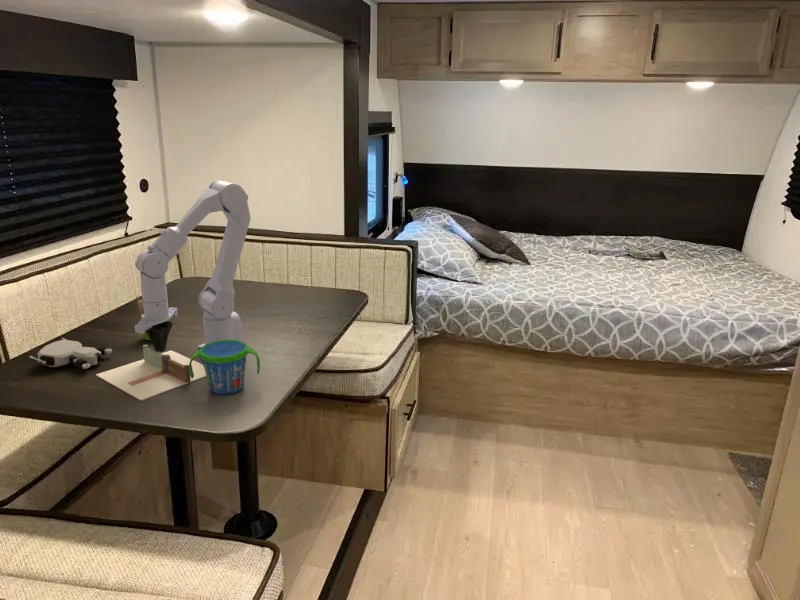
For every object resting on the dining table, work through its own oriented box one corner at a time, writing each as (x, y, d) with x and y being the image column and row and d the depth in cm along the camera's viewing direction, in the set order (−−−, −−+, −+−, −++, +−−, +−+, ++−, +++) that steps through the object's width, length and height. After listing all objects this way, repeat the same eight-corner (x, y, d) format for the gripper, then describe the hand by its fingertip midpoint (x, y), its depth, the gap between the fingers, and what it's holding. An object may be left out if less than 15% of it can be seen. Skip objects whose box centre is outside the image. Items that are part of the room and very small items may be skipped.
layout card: (171, 351, 162) (171, 349, 161) (217, 372, 150) (217, 370, 150) (96, 375, 146) (95, 374, 146) (141, 401, 135) (140, 399, 135)
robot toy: (116, 359, 158) (61, 351, 160) (115, 343, 157) (60, 335, 158) (87, 379, 147) (28, 370, 148) (86, 362, 145) (26, 353, 147)
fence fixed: (168, 368, 150) (167, 353, 149) (193, 380, 144) (191, 365, 143) (161, 371, 149) (159, 356, 148) (185, 383, 143) (184, 367, 142)
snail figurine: (150, 333, 173) (146, 293, 169) (165, 338, 170) (161, 297, 166) (133, 339, 169) (128, 298, 165) (149, 344, 166) (144, 302, 162)
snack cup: (186, 399, 136) (182, 357, 133) (197, 379, 146) (193, 339, 143) (257, 398, 137) (255, 356, 134) (263, 378, 147) (262, 338, 144)
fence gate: (147, 359, 155) (146, 344, 154) (166, 368, 150) (164, 352, 149) (143, 360, 154) (141, 345, 153) (161, 369, 149) (160, 354, 148)
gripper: (158, 289, 159) (163, 338, 163) (121, 306, 145) (127, 359, 149) (183, 292, 157) (187, 341, 161) (147, 309, 144) (153, 363, 148)
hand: (160, 350), depth 155 cm, fingers closed
